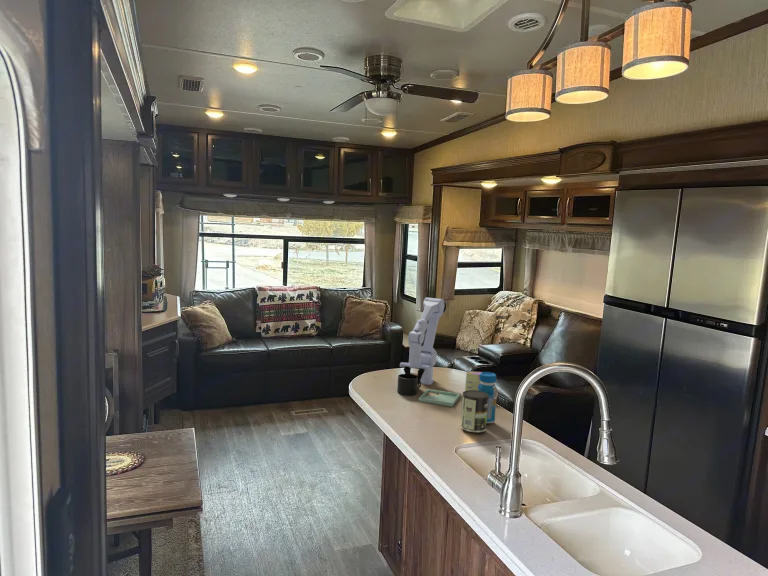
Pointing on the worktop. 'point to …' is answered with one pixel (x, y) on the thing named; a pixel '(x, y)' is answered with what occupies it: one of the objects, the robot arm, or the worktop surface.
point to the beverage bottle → (489, 393)
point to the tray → (440, 398)
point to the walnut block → (417, 376)
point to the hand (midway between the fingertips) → (413, 382)
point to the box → (472, 380)
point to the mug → (407, 384)
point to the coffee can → (474, 411)
